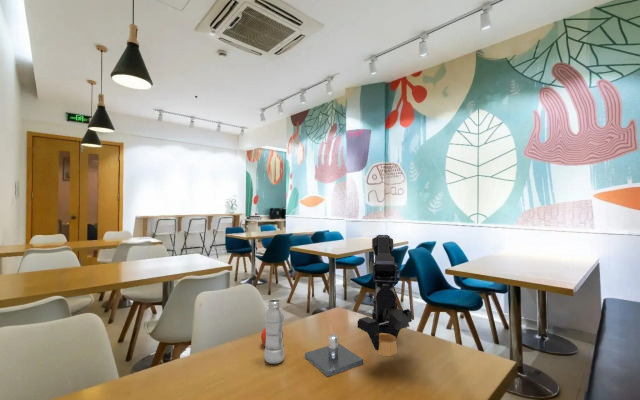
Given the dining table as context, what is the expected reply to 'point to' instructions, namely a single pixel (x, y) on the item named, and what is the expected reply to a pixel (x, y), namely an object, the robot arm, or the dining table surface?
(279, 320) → the plastic bottle
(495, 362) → the dining table surface
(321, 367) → the piston stand
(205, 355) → the dining table surface
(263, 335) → the apple
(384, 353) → the collar
